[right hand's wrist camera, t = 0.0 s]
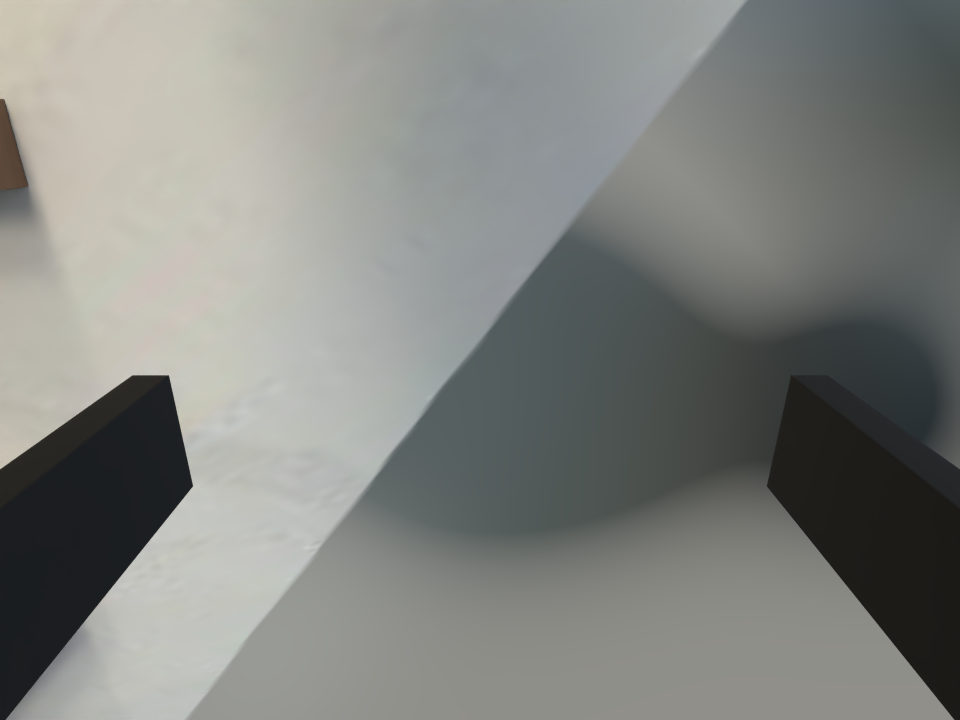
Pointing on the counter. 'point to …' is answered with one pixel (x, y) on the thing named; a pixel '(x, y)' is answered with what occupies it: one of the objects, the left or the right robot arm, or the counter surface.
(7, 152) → the plank
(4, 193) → the counter surface
